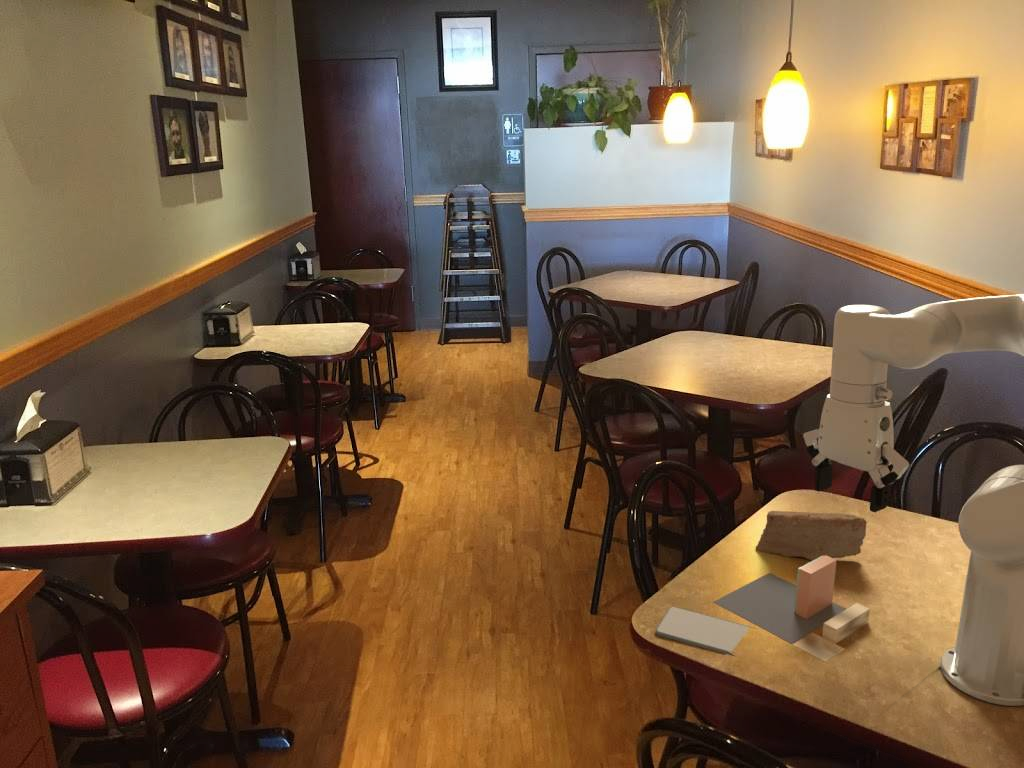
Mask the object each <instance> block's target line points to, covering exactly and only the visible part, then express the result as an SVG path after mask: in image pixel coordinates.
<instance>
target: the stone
mask: <svg viewBox="0 0 1024 768" xmlns="http://www.w3.org/2000/svg"><path fill="white" fill-rule="evenodd" d="M866 531H867V520H865V518H864V517H861V516H857V515H855V514H852V513H840V512H839V513H838V512H837V513H836V512H829V513H828V512H827V513H826V512H825V513H824V512H809V511H808V512H805V511H787V510H785V511H784V510H783V511H781V510H770V511H768V512H767V515H766V524H765V527H764V529H763V530H762V534H760V538H759V541H758V542H757V545H756V546H755V550H756V551H757V552H758V551H759V552H763V553H768V554H771V555H772V554H774V555H781V556H784V557H786V558H787V557H788V558H791V557H794V558H795V557H796V558H804V559H806V560H809V561H813V560H815V559H817V558H819V557H821V556H825V555H826V556H829V557H831V558H834V559H842V558H846V557H851V556H854V557H855V556H857V555H859V554H861V550H862V549H861V546H863V544H864V539H865V537H866V535H867V534H866V533H867V532H866Z"/></svg>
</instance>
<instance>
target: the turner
mask: <svg viewBox="0 0 1024 768" xmlns="http://www.w3.org/2000/svg"><path fill="white" fill-rule="evenodd" d="M870 609H871V608H869V607H867V606H864V605H863V604H860V603H858V602H856V603H854V604H852V605H851V606H849V607H848V608H846V610H844V611H843V612H841V613H839V614H838V615H836V616H834V617H833V618H831V619H829V620H828V621H826V622H825V623H824V624H823V625H822V636H821V635H818V634H816V632H815V633H814V632H810V633H809V634H807V635H805V636H804V637H802V638H800V639H799V640H797V641H796V642H794V643H792V645H793V646H794V647H797V648H798V649H800V650H803V651H804V652H807V653H808V654H810V655H812V656H814V657H816V658H817V659H820V660H821V661H823V662H825V663H827V662H828V661H830V660H831V659H833V658H835V656H837V655H838V654H840V653H842V652H844V651H845V650H846V648H844V647H843V646H840V645H838V643H839V642H841V641H842V640H845V638H847V637H849V636H850V635H851V634H853V633H854V632H857V631H858V630H859V629H862V628H863V627H864V626H866V625H867V624H868V623H869V618H870Z"/></svg>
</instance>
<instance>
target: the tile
mask: <svg viewBox="0 0 1024 768" xmlns="http://www.w3.org/2000/svg"><path fill="white" fill-rule="evenodd" d="M836 570H837V558H831V557H829V556H826V555H825V556H821V557H819V558H817V559H815V560H813V561H812V560H810V561H809V562H807V563H806V564H804V565H802V566H800V567H798V568H797V576H796V577H797V578H796V584H795V585H796V596H795V607H794V611H796V614H798V615H800V616H802V617H804V618H806V619H807V618H809V617H811V616H812V615H814V614H816V613H817V612H819V611H821V610H822V609H824V608H826V607H827V606H829V605H831V604H832V602H833V600H834V591H835V590H834V589H835V588H834V587H835V579H836Z"/></svg>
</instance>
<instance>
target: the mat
mask: <svg viewBox="0 0 1024 768" xmlns="http://www.w3.org/2000/svg"><path fill="white" fill-rule="evenodd" d="M796 585H797V584H795V583H793V582H791V581H788V580H787V579H784V578H782V577H780V576H777V575H776V574H773V573H772V572H768V573H766V574H764V575H762V576H760V577H758V578H756V579H755V580H753V581H750V582H748V583H747V584H745V585H743V586H741V587H739V588H737V589H735V590H733V591H731V592H729V593H728V594H725V595H724V596H722V597H720V598H718V599H716V600H714V601H713V603H714V604H716V605H718V606H720V607H722V608H723V609H726V610H727V611H729V612H731V613H733V614H734V615H736V616H738V617H741V618H742V619H744V620H746V621H748V622H750V623H752V624H753V625H755V626H757V627H759V628H761V629H763V630H764V631H767V632H769V633H770V634H772V635H774V636H776V637H777V638H780V639H782V640H783V641H785V642H787V643H789V644H792V645H793V644H795V643H796V642H798V641H800V640H801V639H803V638H805V637H806V636H808V635H809V634H811V633H813V632H814V631H816V630H817V629H819V628H820V627H823V624H824V623H825V622H826V621H828V620H829V619H831V618H833V617H834V616H836V615H838V614H839V613H841V612H843V611H844V610H846V609H847V608H846V607H844V606H843V605H839V604H838V603H835V602H834V601H832V604H831V605H829V606H827V607H826V608H824V609H822V610H821V611H819V612H817V613H816V614H814V615H812V616H811V617H809V618H807V619H806V618H804V617H802V616H800V615H798V614H796V611H794V607H795V596H796Z"/></svg>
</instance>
